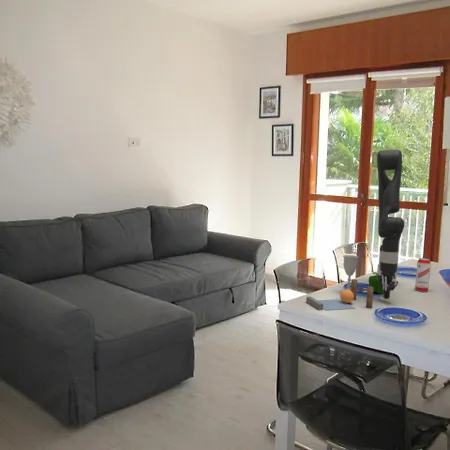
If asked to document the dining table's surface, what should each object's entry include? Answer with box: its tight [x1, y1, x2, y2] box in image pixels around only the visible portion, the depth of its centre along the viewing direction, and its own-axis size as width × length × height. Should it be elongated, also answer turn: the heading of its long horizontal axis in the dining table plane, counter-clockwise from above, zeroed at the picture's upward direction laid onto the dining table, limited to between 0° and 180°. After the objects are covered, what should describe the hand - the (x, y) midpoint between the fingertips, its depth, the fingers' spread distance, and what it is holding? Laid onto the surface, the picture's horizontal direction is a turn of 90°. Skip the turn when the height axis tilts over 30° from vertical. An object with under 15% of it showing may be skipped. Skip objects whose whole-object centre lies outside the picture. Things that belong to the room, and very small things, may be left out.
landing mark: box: [316, 298, 356, 311], centre depth 219 cm, size 14×14×1 cm
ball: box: [339, 289, 354, 304], centre depth 222 cm, size 6×6×6 cm
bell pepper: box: [368, 271, 384, 294], centre depth 242 cm, size 8×8×10 cm
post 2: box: [365, 285, 374, 309], centre depth 216 cm, size 3×3×9 cm
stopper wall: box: [305, 296, 324, 311], centre depth 217 cm, size 12×2×2 cm, turn 16°
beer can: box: [414, 257, 431, 293], centre depth 248 cm, size 6×6×16 cm
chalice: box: [342, 254, 360, 291], centre depth 238 cm, size 7×7×18 cm
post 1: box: [350, 278, 358, 301], centre depth 229 cm, size 3×3×9 cm
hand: (386, 298), depth 227 cm, fingers closed
